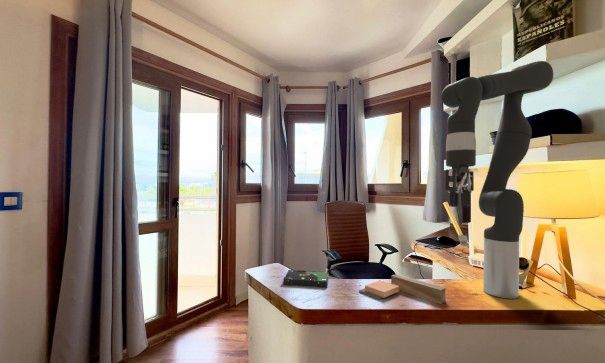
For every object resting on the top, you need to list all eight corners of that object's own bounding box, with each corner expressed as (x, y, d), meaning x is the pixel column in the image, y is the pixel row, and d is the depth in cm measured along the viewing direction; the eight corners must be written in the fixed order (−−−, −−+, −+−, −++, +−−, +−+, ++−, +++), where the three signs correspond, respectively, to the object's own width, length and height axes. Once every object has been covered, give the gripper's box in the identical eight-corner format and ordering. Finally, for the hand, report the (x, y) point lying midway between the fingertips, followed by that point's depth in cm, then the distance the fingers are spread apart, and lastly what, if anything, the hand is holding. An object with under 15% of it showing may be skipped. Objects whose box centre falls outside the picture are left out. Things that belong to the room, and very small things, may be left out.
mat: (377, 285, 95) (377, 283, 95) (397, 291, 90) (397, 289, 90) (358, 292, 89) (359, 290, 89) (379, 299, 83) (379, 297, 83)
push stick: (396, 286, 95) (396, 274, 95) (445, 301, 83) (445, 287, 83) (391, 287, 93) (391, 275, 93) (440, 304, 81) (441, 290, 81)
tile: (398, 291, 88) (379, 285, 94) (399, 286, 88) (379, 280, 94) (384, 297, 83) (364, 290, 88) (384, 292, 83) (364, 285, 89)
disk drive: (283, 287, 94) (327, 289, 92) (283, 278, 94) (327, 280, 92) (288, 277, 104) (328, 278, 102) (288, 269, 104) (328, 271, 102)
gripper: (465, 146, 74) (464, 208, 74) (483, 151, 83) (483, 206, 83) (436, 148, 80) (435, 206, 79) (456, 153, 89) (455, 204, 89)
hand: (459, 206), depth 81 cm, fingers open, 8 cm apart
